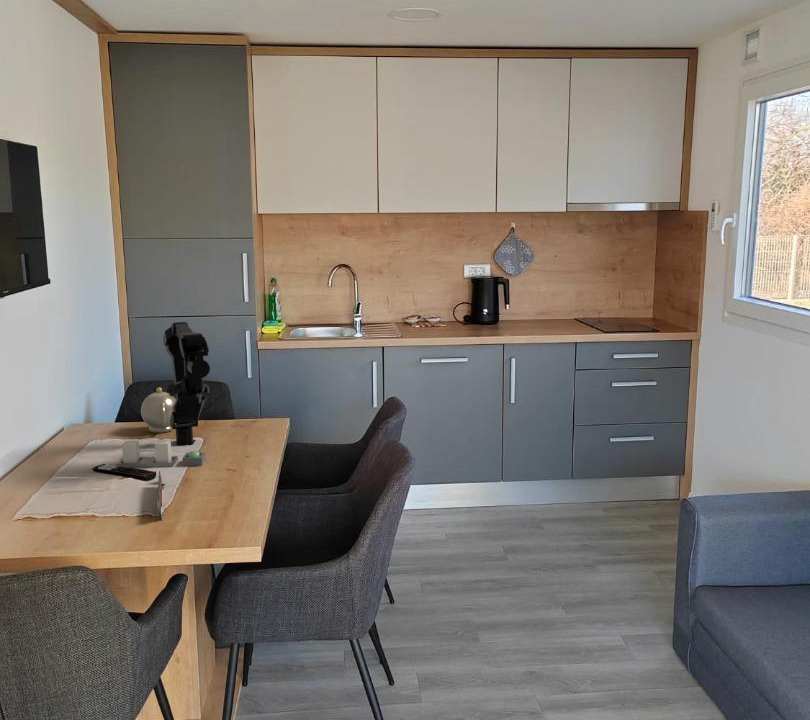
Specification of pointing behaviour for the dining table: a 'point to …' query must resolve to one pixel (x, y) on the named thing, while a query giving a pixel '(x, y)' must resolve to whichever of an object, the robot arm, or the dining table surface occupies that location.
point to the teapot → (158, 411)
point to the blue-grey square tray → (145, 450)
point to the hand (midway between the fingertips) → (196, 420)
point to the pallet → (148, 463)
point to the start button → (193, 454)
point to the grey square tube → (194, 460)
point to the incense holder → (160, 497)
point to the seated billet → (163, 451)
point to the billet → (131, 452)
